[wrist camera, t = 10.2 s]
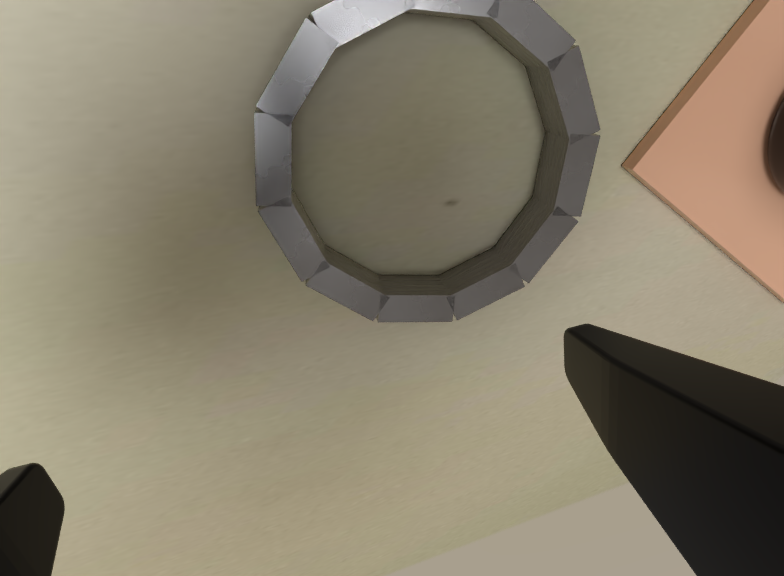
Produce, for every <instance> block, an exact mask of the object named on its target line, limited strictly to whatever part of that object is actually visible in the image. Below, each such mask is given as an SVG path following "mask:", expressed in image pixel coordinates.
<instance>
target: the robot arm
mask: <svg viewBox="0 0 784 576" xmlns="http://www.w3.org/2000/svg"><path fill="white" fill-rule="evenodd" d="M564 366H565V373H566V376H567V378H568V381H569V383H570V384H571V386H572V388H573V390H574V392H575V393H576V395H577V397H578V399H579V401H580V402H581V404H582V406H583V408H584V409H585V411H586V413H587V415H588V417H589V418H590V420H591V422H592V424H593V426H594V427H595V429H596V431H597V433H598V435H599V436H600V438H601V440H602V442H603V443H604V445H605V447H606V448H607V450H608V452H609V453H610V455H611V456H612V458H613V459H614V461H615V462H616V463H617V465H618V466H619V468H620V469H621V470H622V472H623V473H624V475H625V476H626V477H627V479H628V480H629V482H630V483H631V484H632V486H633V487H634V488H635V490H636V491H637V493H638V494H639V496H640V497H641V498H642V500H643V501H644V503H645V504H646V505H647V507H648V508H649V510H650V511H651V512H652V514H653V515H654V517H655V518H656V519H657V521H658V522H659V524H660V525H661V526H662V528H663V529H664V530H665V532H666V533H667V535H668V536H669V538H670V539H671V540H672V542H673V543H674V545H675V546H676V547H677V549H678V550H679V552H680V553H681V554H682V556H683V557H684V559H685V560H686V561H687V563H688V564H689V566H690V567H691V568H692V570H693V571H694V573H695V574H696V575H697V576H784V386H781V385H778V384H774V383H771V382H768V381H765V380H762V379H759V378H756V377H753V376H750V375H746V374H743V373H740V372H737V371H734V370H731V369H728V368H725V367H722V366H718V365H715V364H712V363H709V362H706V361H703V360H700V359H697V358H694V357H691V356H687V355H684V354H681V353H678V352H675V351H672V350H669V349H666V348H663V347H659V346H656V345H653V344H650V343H647V342H644V341H641V340H638V339H635V338H632V337H628V336H625V335H622V334H619V333H616V332H613V331H610V330H607V329H604V328H600V327H597V326H594V325H591V324H583V325H579V326H575V327H571V328H568V329H567V330H566V331H565V333H564ZM63 516H64V500H63V498H62V495H61V494H60V492H59V491H58V489H57V488H56V486H55V484H54V483H53V481H52V480H51V478H50V477H49V475H48V474H47V472H46V471H45V469H44V468H43V467H42V466H41V465H40V464H38V463H30V464H26V465H22V466H18V467H14V468H10V469H8V470H6V471H5V472H4V473H2V474H1V475H0V576H51V574H52V569H53V564H54V560H55V555H56V550H57V545H58V540H59V536H60V531H61V526H62V521H63Z"/></svg>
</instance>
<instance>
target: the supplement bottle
mask: <svg viewBox="0 0 784 576" xmlns="http://www.w3.org/2000/svg"><path fill="white" fill-rule="evenodd" d="M767 157H768V164H769V168H770V172H771V174H772V177H773V179H774V181H775V183H776V184H777V186H778V187H779V188H780V190H782V191H783V192H784V98H783V100H782V101H781V103H780V105H779V107H778V109H777V111H776V114H775V116H774V119H773V122H772V125H771V128H770V132H769V137H768V146H767Z"/></svg>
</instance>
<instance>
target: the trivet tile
mask: <svg viewBox="0 0 784 576" xmlns="http://www.w3.org/2000/svg"><path fill="white" fill-rule="evenodd" d="M783 98H784V0H754V1H753V2H752V3H751V5H750V6H749V7H748V8H747V10H746V11H745V12H744V13H743V15H742V16H741V17H740V18H739V20H738V21H737V22H736V23H735V25H734V26H733V27H732V28H731V30H730V31H729V32H728V33H727V35H726V36H725V37H724V38H723V40H722V41H721V42H720V43H719V45H718V46H717V47H716V48H715V50H714V51H713V52H712V53H711V55H710V56H709V57H708V58H707V60H706V61H705V62H704V63H703V65H702V66H701V67H700V68H699V70H698V71H697V72H696V73H695V75H694V76H693V77H692V78H691V80H690V81H689V82H688V83H687V85H686V86H685V87H684V88H683V89H682V91H681V92H680V93H679V94H678V96H677V97H676V98H675V99H674V101H673V102H672V103H671V104H670V106H669V107H668V108H667V109H666V111H665V112H664V113H663V114H662V116H661V117H660V118H659V119H658V121H657V122H656V123H655V124H654V126H653V127H652V128H651V129H650V131H649V132H648V133H647V134H646V136H645V137H644V138H643V139H642V141H641V142H640V143H639V144H638V146H637V147H636V148H635V149H634V151H633V152H632V153H631V154H630V156H629V157H628V158H627V159H626V161H625V162H624V163H623V164H622V167H624V168H625V169H626V170H627V171H628V172H629V173H631V174H632V175H633V176H634V177H635V178H637V179H638V180H639V181H640V182H641V183H642V184H644V185H645V186H646V187H647V188H648V189H650V190H651V191H652V192H653V193H654V194H655V195H657V196H658V197H659V198H660V199H661V200H663V201H664V202H665V203H666V204H667V205H668V206H670V207H671V208H672V209H673V210H674V211H676V212H677V213H678V214H679V215H680V216H681V217H683V218H684V219H685V220H686V221H687V222H689V223H690V224H691V225H692V226H693V227H694V228H696V229H697V230H698V231H699V232H700V233H702V234H703V235H704V236H705V237H706V238H707V239H709V240H710V241H711V242H712V243H713V244H715V245H716V246H717V247H718V248H719V249H720V250H722V251H723V252H724V253H725V254H726V255H728V256H729V257H730V258H731V259H732V260H733V261H735V262H736V263H737V264H738V265H739V266H741V267H742V268H743V269H744V270H745V271H746V272H748V273H749V274H750V275H751V276H752V277H754V278H755V279H756V280H757V281H758V282H759V283H761V284H762V285H763V286H764V287H765V288H767V289H768V290H769V291H770V292H771V293H772V294H774V295H775V296H776V297H777V298H778V299H780V300H781V301H782V302H783V303H784V192H783V191H782V190H780V188H779V187H778V186H777V184H776V183H775V181H774V179H773V177H772V174H771V172H770V168H769V164H768V157H767V146H768V137H769V132H770V128H771V125H772V122H773V119H774V116H775V114H776V111H777V109H778V107H779V105H780V103H781V101H782V100H783Z"/></svg>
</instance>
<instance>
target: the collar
mask: <svg viewBox="0 0 784 576" xmlns="http://www.w3.org/2000/svg"><path fill="white" fill-rule="evenodd" d="M403 12H406V13H416V14H425V15H434V16H443V17H452V18H462V19H471V20H473V21H474V22H476V23H477V24H478V25H479V26H480V27H481V28H482V29H484V30H485V31H486V32H487V33H488V34H489V35H491V36H492V37H493V38H494V39H495V40H496V41H497V42H499V43H500V44H501V45H502V46H503V47H504V48H506V49H507V50H508V51H509V52H510V53H511V54H513V55H514V56H515V57H516V58H517V59H518V60H519V61H521V62H522V63H523V64H524V65H525V66H526V69H527V72H528V76H529V79H530V82H531V85H532V89H533V92H534V95H535V98H536V102H537V105H538V108H539V111H540V115H541V118H542V121H543V124H544V128H545V131H546V132H545V137H544V142H543V147H542V152H541V157H540V162H539V167H538V172H537V177H536V182H535V187H534V192H533V197H532V198H531V199H530V201H529V202H528V203H527V205H526V206H525V207H524V209H523V210H522V211H521V212H520V214H519V215H518V216H517V218H516V219H515V220H514V222H513V223H512V224H511V226H510V227H509V228H508V229H507V231H506V232H505V233H504V235H503V236H502V237H501V239H500V240H499V241H498V243H497V244H496V245H495V246H494V248H492V249H490V250H488V251H486V252H484V253H482V254H480V255H478V256H476V257H474V258H472V259H470V260H468V261H466V262H464V263H462V264H460V265H458V266H456V267H454V268H452V269H450V270H448V271H446V272H444V273H443V274H441V275H439V276H428V275H377V274H375V273H373V272H372V271H370V270H368V269H366V268H365V267H363V266H361V265H359V264H358V263H356V262H354V261H352V260H351V259H349V258H347V257H345V256H344V255H342V254H340V253H338V252H337V251H335V250H333V249H331V248H330V247H328V246H326V245H324V243H323V241H322V240H321V238H320V236H319V235H318V233H317V231H316V229H315V228H314V226H313V224H312V222H311V221H310V219H309V217H308V215H307V214H306V212H305V210H304V208H303V207H302V205H301V203H300V202H299V200H298V198H297V196H296V195H295V193H294V191H293V189H292V188H291V167H292V121H293V119H294V117H295V115H296V114H297V112H298V110H299V109H300V107H301V105H302V104H303V102H304V100H305V99H306V97H307V95H308V94H309V92H310V90H311V89H312V87H313V85H314V83H315V82H316V80H317V78H318V77H319V75H320V73H321V72H322V70H323V68H324V67H325V65H326V63H327V62H328V60H329V58H330V57H331V55H332V53H333V52H334V50H335V48H337V47H339V46H341V45H343V44H345V43H346V42H348V41H350V40H352V39H354V38H356V37H358V36H360V35H362V34H364V33H365V32H367V31H369V30H371V29H373V28H375V27H377V26H379V25H381V24H383V23H384V22H386V21H388V20H390V19H392V18H394V17H396V16H398V15H400V14H402V13H403ZM309 17H310V19H311V21H312V22H311V21H310V20H308V19H307V18H305V20H304V21H303V23H302V25H301V26H300V28H299V30H298V32H297V34H296V35H295V37H294V39H293V41H292V42H291V44H290V46H289V48H288V49H287V51H286V53H285V55H284V56H283V58H282V60H281V62H280V63H279V65H278V67H277V69H276V70H275V72H274V74H273V76H272V78H271V79H270V81H269V83H268V85H267V86H266V88H265V90H264V92H263V93H262V95H261V97H260V99H259V100H258V102H257V104H256V106H257V108H256V110H255V112H254V132H255V178H256V206H259V208H258V212H259V214H260V216H261V217H262V219H263V221H264V222H265V224H266V225H267V227H268V229H269V230H270V232H271V233H272V235H273V237H274V238H275V240H276V241H277V243H278V245H279V246H280V248H281V249H282V251H283V253H284V254H285V256H286V257H287V259H288V261H289V262H290V264H291V265H292V267H293V269H294V270H295V272H296V273H297V275H298V277H299V278H300V280H301V281H304V280H305V281H306V286H308V287H310V288H311V289H313V290H315V291H317V292H319V293H321V294H323V295H325V296H327V297H328V298H330V299H332V300H334V301H336V302H338V303H340V304H342V305H344V306H345V307H347V308H349V309H351V310H353V311H355V312H357V313H359V314H361V315H362V316H364V317H366V318H368V319H370V320H372V321H373V320H374V319H375V318H376V317H377V321H378V322H452V318H453V314H454V316H455V318H456V319H457V320H459V319H461V318H463V317H465V316H467V315H469V314H471V313H473V312H475V311H477V310H479V309H481V308H483V307H485V306H487V305H489V304H491V303H493V302H495V301H497V300H499V299H501V298H503V297H505V296H507V295H509V294H511V293H513V292H515V291H517V290H519V289H521V288H523V287H525V286H524V284H523V281H522V279H523V280H525V281H526V282H528V283H529V282H530V281H531V280H532V279H533V277H534V276H535V275H536V274H537V272H538V271H539V270H540V269H541V267H542V266H543V265H544V264H545V262H546V261H547V260H548V259H549V257H550V256H551V255H552V254H553V252H554V251H555V250H556V249H557V247H558V246H559V245H560V244H561V242H562V241H563V240H564V239H565V237H566V236H567V235H568V234H569V232H570V231H571V230H572V229H573V227H574V226H575V225H576V224H577V223H578V221H577V220H576V219H574V218H573V217H572V216H581V214H582V209H583V205H584V201H585V197H586V193H587V189H588V185H589V181H590V176H591V172H592V168H593V164H594V160H595V156H596V152H597V147H598V143H599V139H600V135H597V134H593V133H595V132H597V131H599V130H600V126H599V122H598V118H597V115H596V111H595V107H594V103H593V99H592V95H591V91H590V87H589V83H588V79H587V76H586V72H585V68H584V64H583V60H582V56H581V52H580V48H579V46H572V45H573V44H574V42H575V41H576V40H575V39H574V38H573V37H572V36H571V35H570V34H569V33H567V32H566V31H565V30H564V29H563V28H562V27H561V26H560V25H559V24H558V23H557V22H556V21H555V20H554V19H553V18H551V17H550V16H549V15H548V14H547V13H546V12H545V11H544V10H543V9H542V8H541V7H540V6H539V5H538V4H537V3H535V2H534V1H533V0H334V1H332V2H330V3H328V4H326V5H324V6H322V7H321V8H319V9H317V10H315V11H313V12H311V13H310V15H309Z"/></svg>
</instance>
